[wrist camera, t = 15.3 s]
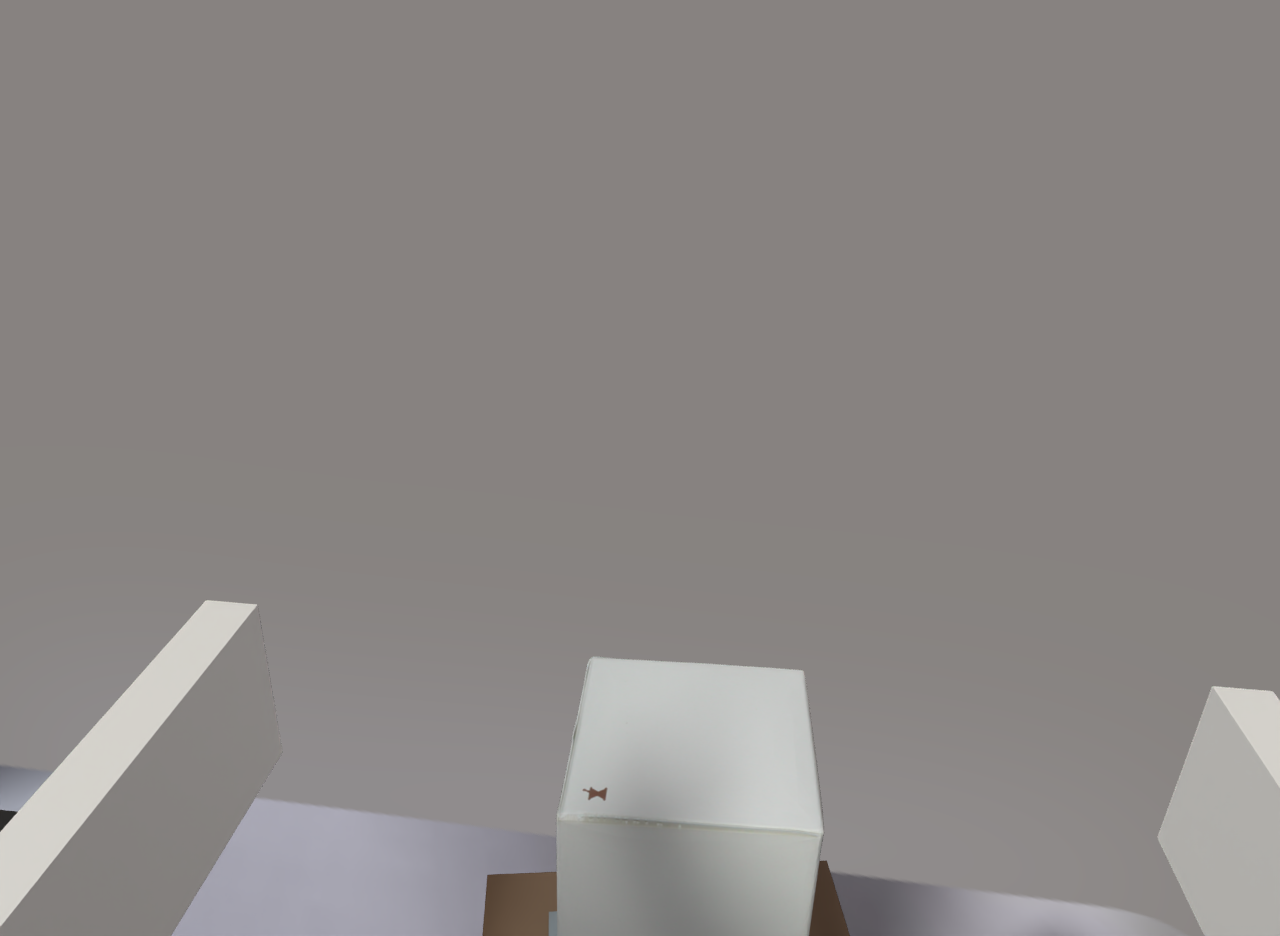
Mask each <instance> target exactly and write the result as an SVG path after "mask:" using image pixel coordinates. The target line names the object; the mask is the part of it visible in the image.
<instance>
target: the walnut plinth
mask: <svg viewBox="0 0 1280 936" xmlns="http://www.w3.org/2000/svg"><path fill="white" fill-rule="evenodd" d="M483 936H557V872H543V873H519V874H495V875H488V876H487V888H486V900H485V912H484V924H483ZM809 936H850V935H849V932H848V928H847V925H846V922H845V919H844V915H843V912H842V909H841V906H840V902H839V899H838V896H837V893H836V890H835V886H834V883H833V880H832V877H831V873H830V870H829V868H828V864H827V861H819V868H818V875H817V882H816V889H815V896H814V903H813V910H812V917H811V924H810V931H809Z"/></svg>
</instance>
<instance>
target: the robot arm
mask: <svg viewBox="0 0 1280 936" xmlns="http://www.w3.org/2000/svg"><path fill="white" fill-rule="evenodd" d="M282 753H283V751H282V745H281V739H280V733H279V728H278V721H277V716H276V710H275V704H274V698H273V692H272V686H271V680H270V674H269V668H268V662H267V657H266V651H265V645H264V639H263V633H262V627H261V621H260V616H259V610H258V605H257V604H245V603H234V602H222V601H211V600H206V601H205V602H204V603H203V604H202V605H201V607H200V608H199V609H198V610H197V611H196V612H195V613H194V614H193V615H192V617H191V618H190V619H189V620H188V621H187V622H186V623H185V624H184V626H183V627H182V628H181V629H180V630H179V631H178V632H177V633H176V635H175V636H174V637H173V638H172V639H171V640H170V641H169V643H168V644H167V645H166V646H165V647H164V648H163V649H162V650H161V652H160V653H159V654H158V655H157V656H156V657H155V658H154V659H153V661H152V662H151V663H150V664H149V665H148V666H147V667H146V668H145V669H144V671H143V672H142V673H141V674H140V675H139V676H138V677H137V679H136V680H135V681H134V682H133V683H132V684H131V685H130V686H129V688H128V689H127V690H126V691H125V692H124V693H123V694H122V695H121V697H120V698H119V699H118V700H117V701H116V702H115V704H114V705H113V706H112V707H111V708H110V709H109V710H108V711H107V712H106V713H105V715H104V716H103V717H102V718H101V719H100V720H99V721H98V722H97V724H96V725H95V726H94V727H93V728H92V729H91V730H90V731H89V733H88V734H87V735H86V736H85V737H84V738H83V739H82V740H81V742H80V743H79V744H78V745H77V746H76V747H75V748H74V750H73V751H72V752H71V753H70V754H69V755H68V756H67V757H66V759H65V760H64V761H63V762H62V763H61V764H60V765H59V766H58V768H57V769H56V770H55V771H54V772H53V773H52V774H51V775H50V776H49V778H48V779H47V780H46V781H45V782H44V783H43V784H42V785H41V787H40V788H39V789H38V790H37V791H36V792H35V793H34V794H33V796H32V797H31V798H30V799H29V800H28V801H27V802H26V803H25V805H24V806H23V807H22V808H21V809H20V810H19V811H18V812H15V811H5V810H0V936H171V935H172V933H173V932H174V930H175V928H176V927H177V925H178V924H179V922H180V920H181V919H182V917H183V915H184V914H185V912H186V910H187V909H188V907H189V905H190V904H191V902H192V901H193V899H194V897H195V896H196V894H197V892H198V891H199V889H200V887H201V886H202V884H203V883H204V881H205V879H206V878H207V876H208V874H209V873H210V871H211V869H212V868H213V866H214V865H215V863H216V861H217V860H218V858H219V856H220V855H221V853H222V851H223V850H224V848H225V847H226V845H227V843H228V842H229V840H230V838H231V837H232V835H233V833H234V832H235V830H236V829H237V827H238V825H239V824H240V822H241V820H242V819H243V817H244V815H245V814H246V812H247V811H248V809H249V807H250V806H251V804H252V802H253V801H254V799H255V797H256V796H257V794H258V793H259V791H260V789H261V787H262V786H263V784H264V783H265V781H266V779H267V778H268V776H269V775H270V773H271V771H272V770H273V768H274V766H275V765H276V763H277V761H278V760H279V758H280V756H281V755H282ZM1158 840H1159V842H1160V844H1161V846H1162V849H1163V851H1164V853H1165V854H1166V857H1167V859H1168V861H1169V863H1170V865H1171V867H1172V869H1173V871H1174V873H1175V876H1176V878H1177V880H1178V882H1179V884H1180V886H1181V888H1182V890H1183V892H1184V894H1185V896H1186V898H1187V901H1188V903H1189V905H1190V907H1191V909H1192V911H1193V913H1194V915H1195V917H1196V919H1197V922H1198V924H1199V926H1200V928H1201V930H1202V932H1203V934H1204V936H1280V701H1279V699H1278V698H1277V697H1276V695H1275V694H1274V693H1273V692H1272V691H1262V690H1251V689H1240V688H1228V687H1215V686H1212V688H1211V691H1210V694H1209V697H1208V700H1207V702H1206V705H1205V708H1204V711H1203V713H1202V716H1201V719H1200V722H1199V724H1198V727H1197V730H1196V732H1195V736H1194V738H1193V741H1192V743H1191V746H1190V749H1189V752H1188V754H1187V757H1186V760H1185V763H1184V766H1183V769H1182V771H1181V774H1180V777H1179V779H1178V782H1177V785H1176V788H1175V790H1174V793H1173V796H1172V799H1171V802H1170V804H1169V807H1168V810H1167V812H1166V815H1165V818H1164V821H1163V823H1162V826H1161V829H1160V832H1159V834H1158Z"/></svg>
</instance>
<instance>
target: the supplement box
mask: <svg viewBox="0 0 1280 936" xmlns="http://www.w3.org/2000/svg"><path fill="white" fill-rule="evenodd" d="M556 832H557V836H556V855H557V936H809V931H810V924H811V917H812V910H813V903H814V896H815V889H816V882H817V875H818V868H819V861H820V853H821V846H822V841H823V836H824V823H823V811H822V803H821V794H820V785H819V778H818V770H817V760H816V753H815V745H814V737H813V730H812V722H811V715H810V707H809V699H808V693H807V686H806V680H805V674H804V672H803V671H802V670H791V669H779V668H765V667H750V666H734V665H733V666H732V665H720V664H704V663H686V662H666V661H648V660H630V659H618V658H606V657H596V656H594V657H592V658H590V660H589V661H588V665H587V670H586V674H585V679H584V685H583V690H582V694H581V700H580V704H579V709H578V714H577V719H576V723H575V727H574V731H573V735H572V742H571V749H570V754H569V759H568V764H567V769H566V774H565V778H564V783H563V788H562V793H561V797H560V803H559V806H558V811H557V815H556Z"/></svg>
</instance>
